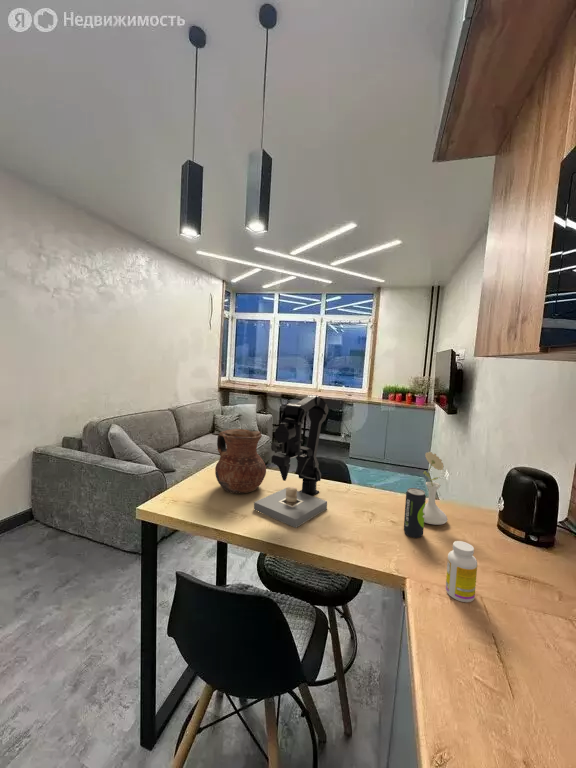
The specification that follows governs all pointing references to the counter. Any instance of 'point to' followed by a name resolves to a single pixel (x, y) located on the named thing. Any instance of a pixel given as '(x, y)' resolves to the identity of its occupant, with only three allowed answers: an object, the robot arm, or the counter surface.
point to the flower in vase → (433, 494)
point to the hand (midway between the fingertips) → (291, 477)
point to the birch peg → (291, 495)
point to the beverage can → (414, 512)
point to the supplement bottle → (461, 572)
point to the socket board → (290, 507)
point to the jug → (239, 461)
